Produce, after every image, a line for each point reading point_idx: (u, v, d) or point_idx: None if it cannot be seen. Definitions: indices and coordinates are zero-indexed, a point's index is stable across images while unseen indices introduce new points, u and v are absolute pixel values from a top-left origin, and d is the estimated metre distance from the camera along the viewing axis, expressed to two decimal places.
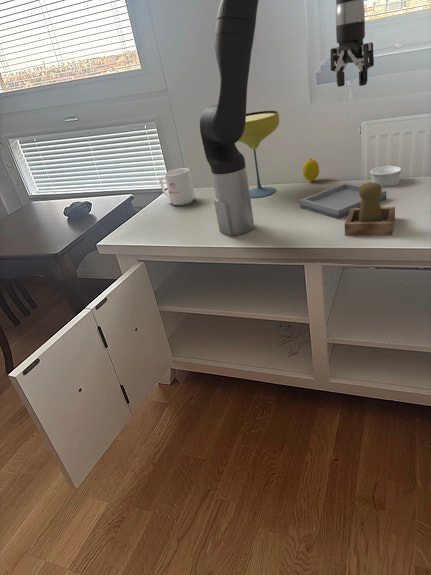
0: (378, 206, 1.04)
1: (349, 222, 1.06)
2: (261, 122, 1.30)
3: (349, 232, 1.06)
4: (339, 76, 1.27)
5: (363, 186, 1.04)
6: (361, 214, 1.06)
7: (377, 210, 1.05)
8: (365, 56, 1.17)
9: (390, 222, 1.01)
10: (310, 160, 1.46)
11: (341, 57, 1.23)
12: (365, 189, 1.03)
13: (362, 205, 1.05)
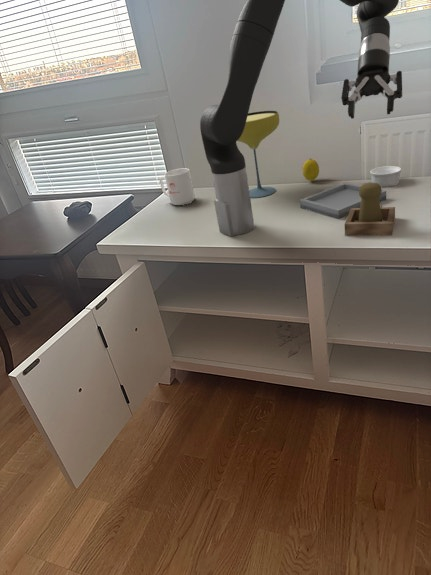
0: (378, 206, 1.04)
1: (349, 222, 1.06)
2: (261, 122, 1.30)
3: (349, 232, 1.06)
4: (353, 104, 1.08)
5: (363, 186, 1.04)
6: (361, 214, 1.06)
7: (377, 210, 1.05)
8: (399, 81, 1.05)
9: (390, 222, 1.01)
10: (310, 160, 1.46)
11: (363, 83, 1.08)
12: (365, 189, 1.02)
13: (362, 205, 1.05)
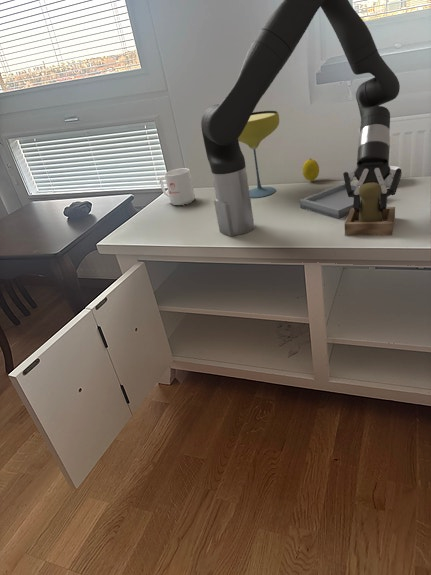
0: (378, 206, 1.04)
1: (349, 222, 1.06)
2: (261, 122, 1.30)
3: (349, 232, 1.06)
4: (359, 199, 1.06)
5: (363, 186, 1.04)
6: (361, 214, 1.06)
7: (377, 210, 1.05)
8: (396, 180, 1.03)
9: (390, 222, 1.01)
10: (310, 160, 1.46)
11: (364, 176, 1.06)
12: (365, 189, 1.02)
13: (362, 205, 1.05)
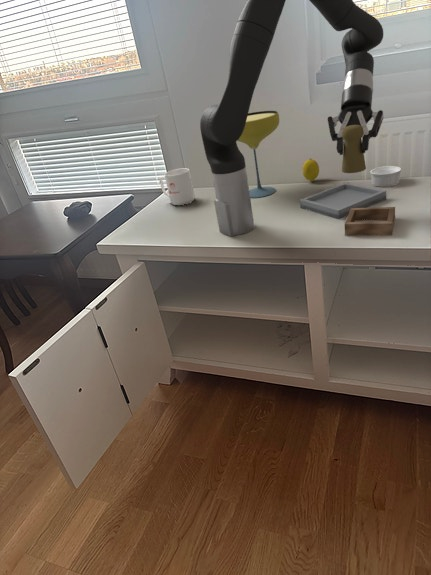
0: (360, 147, 1.08)
1: (349, 222, 1.06)
2: (261, 122, 1.30)
3: (349, 232, 1.06)
4: (342, 141, 1.09)
5: (345, 128, 1.07)
6: (344, 156, 1.10)
7: (359, 151, 1.08)
8: (377, 121, 1.06)
9: (390, 222, 1.01)
10: (310, 160, 1.46)
11: (347, 119, 1.09)
12: (347, 130, 1.06)
13: (345, 147, 1.09)
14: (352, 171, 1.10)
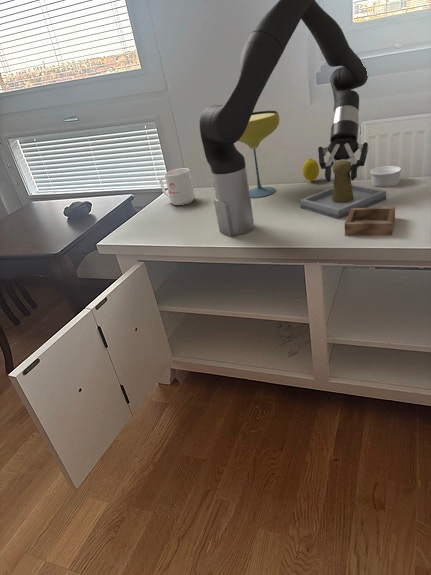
0: (349, 180, 1.21)
1: (349, 222, 1.06)
2: (261, 122, 1.30)
3: (349, 232, 1.06)
4: (329, 170, 1.22)
5: (336, 163, 1.20)
6: (334, 188, 1.23)
7: (348, 184, 1.21)
8: (363, 152, 1.19)
9: (390, 222, 1.01)
10: (310, 160, 1.46)
11: (335, 150, 1.22)
12: (338, 165, 1.19)
13: (335, 180, 1.22)
14: (341, 201, 1.23)
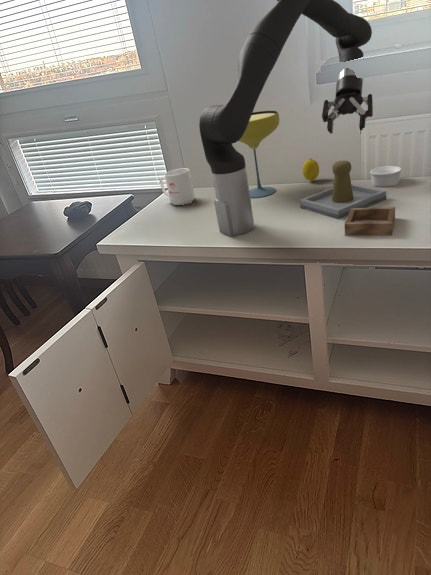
0: (348, 181, 1.21)
1: (349, 222, 1.06)
2: (261, 122, 1.30)
3: (349, 232, 1.06)
4: (332, 122, 1.28)
5: (335, 163, 1.20)
6: (334, 188, 1.23)
7: (348, 184, 1.21)
8: (370, 103, 1.24)
9: (390, 222, 1.01)
10: (310, 160, 1.46)
11: (340, 104, 1.27)
12: (337, 166, 1.19)
13: (335, 180, 1.22)
14: (341, 201, 1.23)
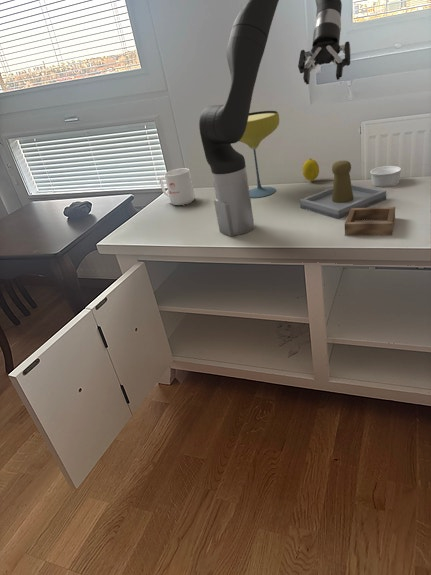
0: (348, 181, 1.21)
1: (349, 222, 1.06)
2: (261, 122, 1.30)
3: (349, 232, 1.06)
4: (308, 72, 1.23)
5: (335, 163, 1.21)
6: (334, 188, 1.23)
7: (348, 184, 1.21)
8: (347, 50, 1.19)
9: (390, 222, 1.01)
10: (310, 160, 1.46)
11: (316, 53, 1.22)
12: (337, 166, 1.19)
13: (335, 180, 1.22)
14: (341, 201, 1.23)
